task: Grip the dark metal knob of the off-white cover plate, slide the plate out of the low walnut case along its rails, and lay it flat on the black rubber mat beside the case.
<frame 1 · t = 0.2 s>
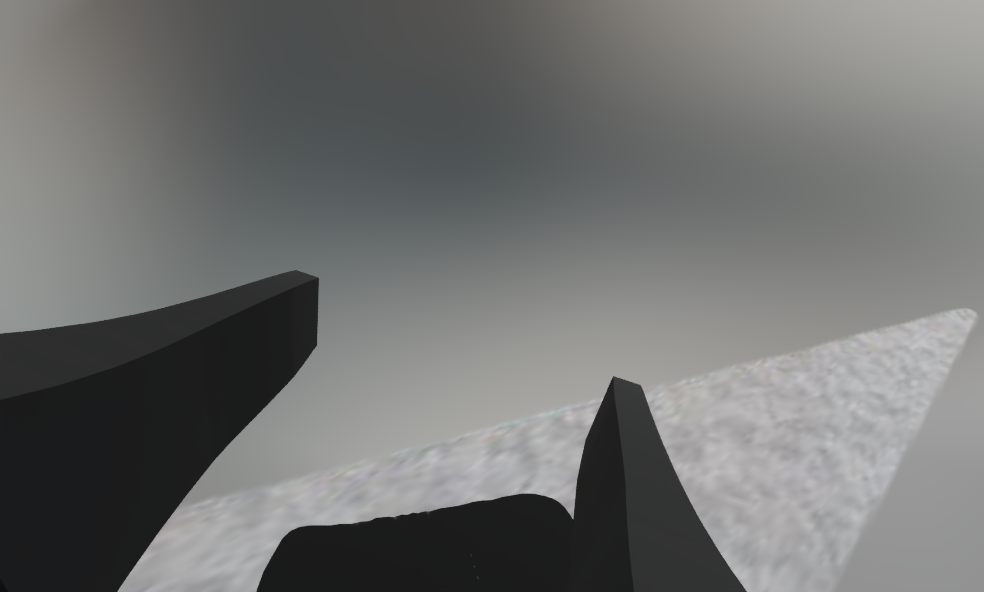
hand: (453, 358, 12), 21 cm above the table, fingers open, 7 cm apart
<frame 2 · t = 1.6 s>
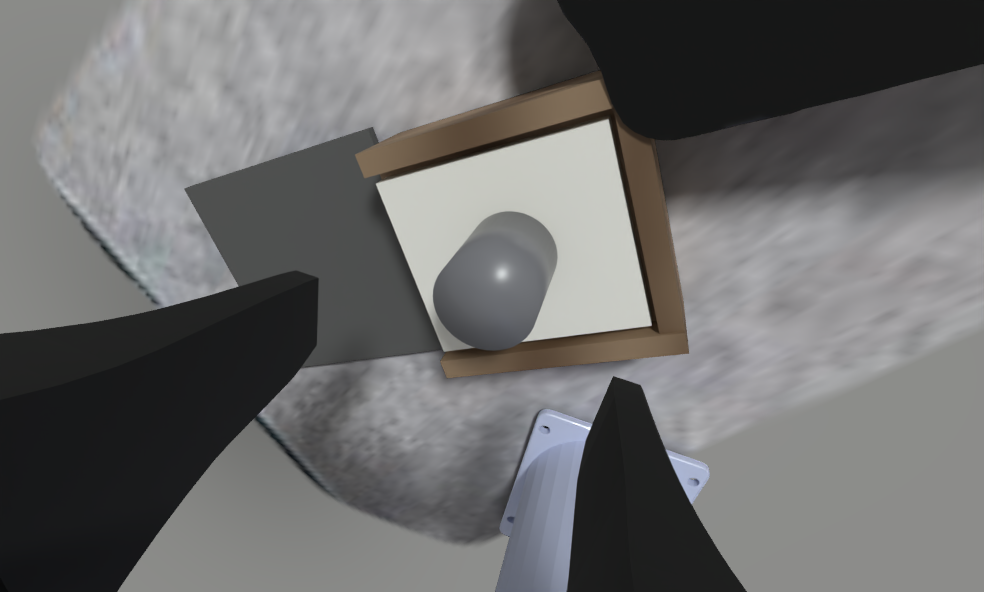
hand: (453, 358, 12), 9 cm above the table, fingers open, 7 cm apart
walnut case: (542, 218, 20), on the table
cover plate: (518, 245, 18), point 2 cm above the table, touching walnut case
rubber mat: (324, 265, 24), on the table
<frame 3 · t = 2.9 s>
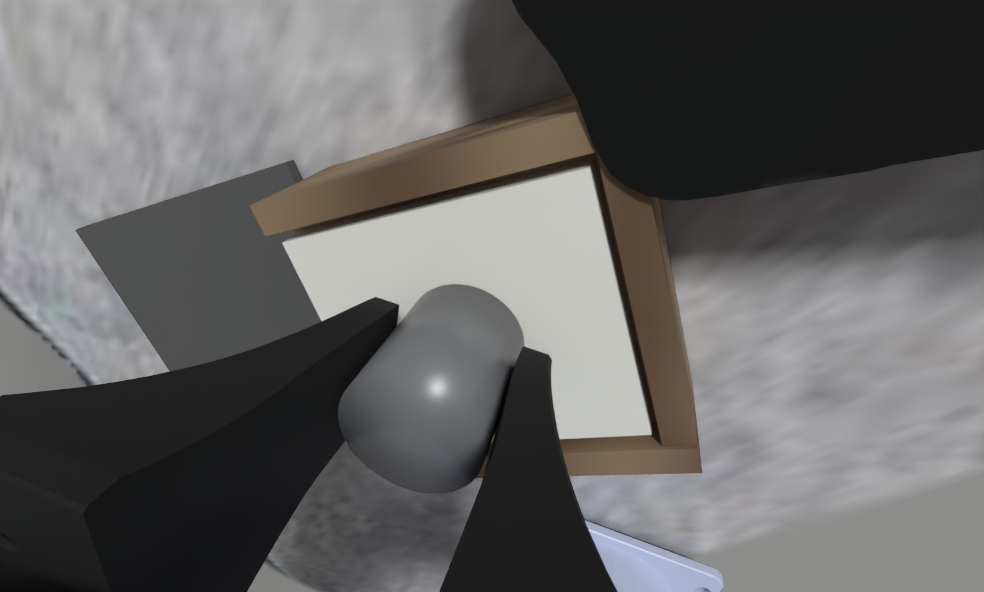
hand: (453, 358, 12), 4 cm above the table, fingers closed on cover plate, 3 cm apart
walnut case: (511, 277, 15), on the table
cover plate: (474, 321, 13), point 2 cm above the table, touching gripper, walnut case
rubber mat: (250, 322, 19), on the table
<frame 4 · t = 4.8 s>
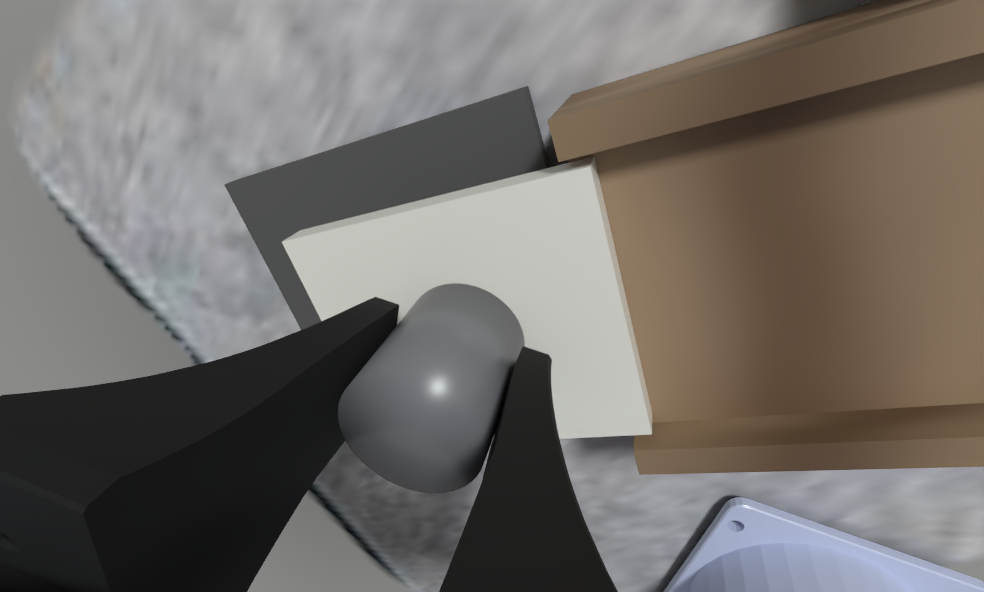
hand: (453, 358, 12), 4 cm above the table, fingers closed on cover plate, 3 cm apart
walnut case: (794, 227, 13), on the table
cover plate: (474, 320, 13), point 3 cm above the table, touching gripper
rubber mat: (424, 293, 17), on the table
when the fingers open (3 cm above the table, at t = 6.6 s): cover plate drops 1 cm, resting on rubber mat.
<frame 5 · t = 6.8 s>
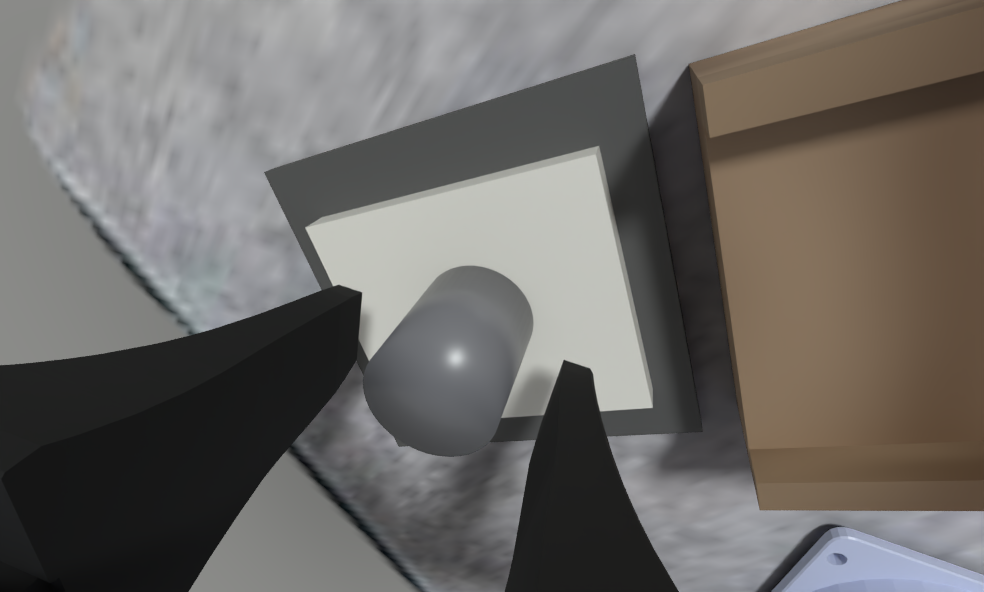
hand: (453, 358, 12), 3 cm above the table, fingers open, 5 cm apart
walnut case: (948, 221, 11), on the table
cover plate: (485, 302, 14), resting on rubber mat
rubber mat: (489, 296, 15), on the table
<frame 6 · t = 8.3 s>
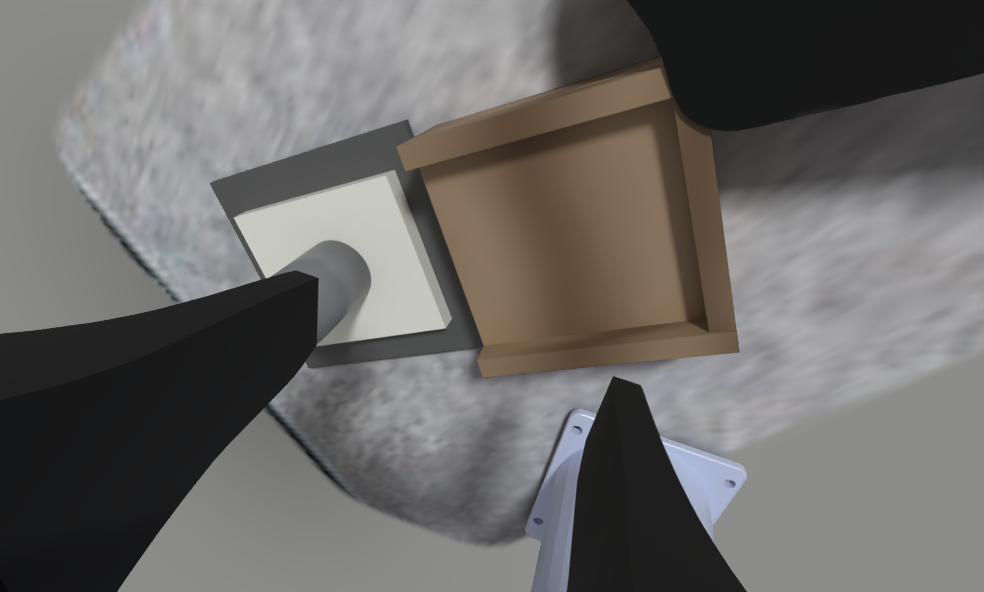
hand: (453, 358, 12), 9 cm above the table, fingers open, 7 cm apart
walnut case: (581, 213, 19), on the table
cover plate: (348, 264, 23), resting on rubber mat
rubber mat: (352, 261, 23), on the table
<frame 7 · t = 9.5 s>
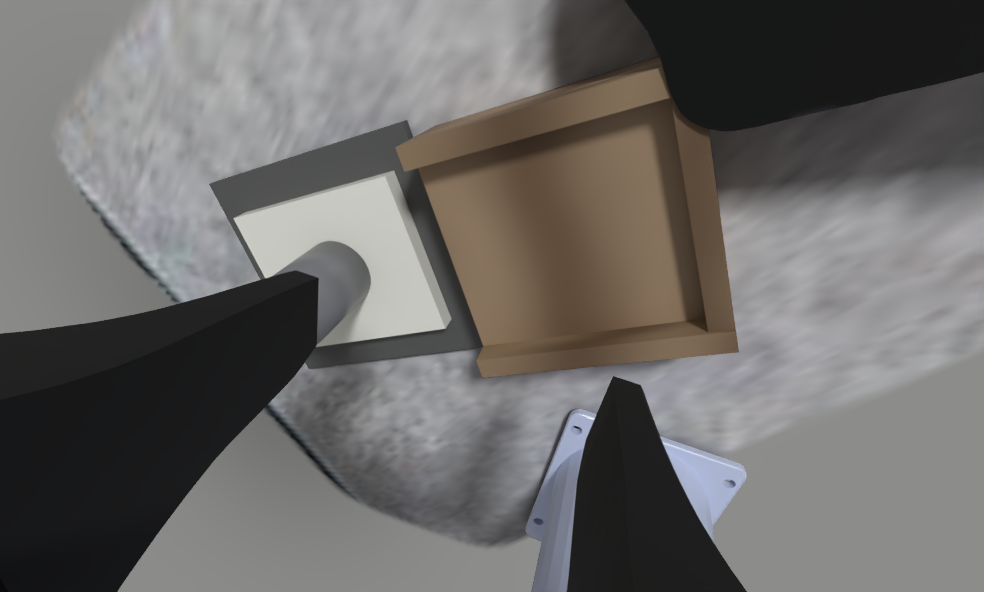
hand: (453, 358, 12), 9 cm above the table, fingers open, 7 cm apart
walnut case: (580, 213, 19), on the table
cover plate: (348, 265, 23), resting on rubber mat
rubber mat: (352, 262, 23), on the table
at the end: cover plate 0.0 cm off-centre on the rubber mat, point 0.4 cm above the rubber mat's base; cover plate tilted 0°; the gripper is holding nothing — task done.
